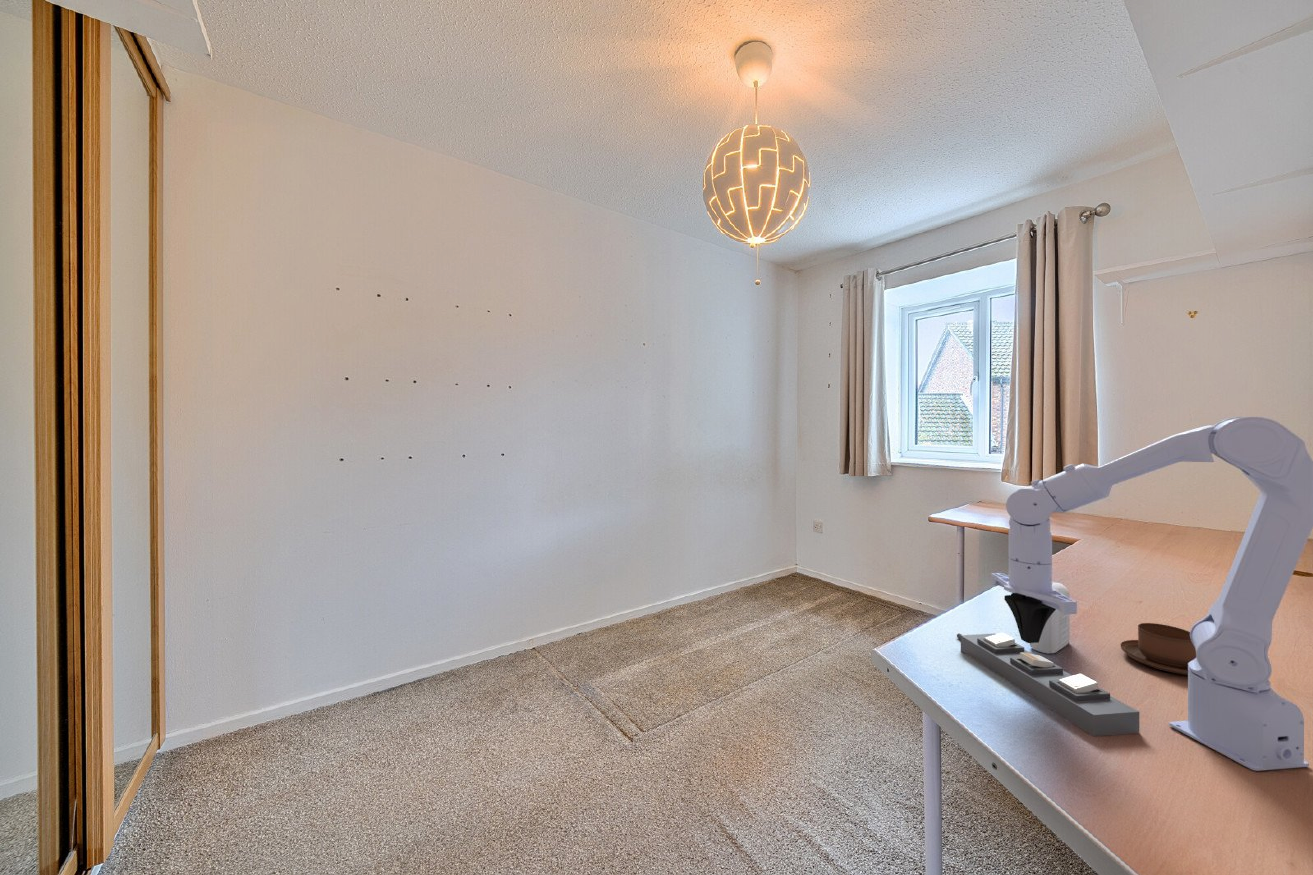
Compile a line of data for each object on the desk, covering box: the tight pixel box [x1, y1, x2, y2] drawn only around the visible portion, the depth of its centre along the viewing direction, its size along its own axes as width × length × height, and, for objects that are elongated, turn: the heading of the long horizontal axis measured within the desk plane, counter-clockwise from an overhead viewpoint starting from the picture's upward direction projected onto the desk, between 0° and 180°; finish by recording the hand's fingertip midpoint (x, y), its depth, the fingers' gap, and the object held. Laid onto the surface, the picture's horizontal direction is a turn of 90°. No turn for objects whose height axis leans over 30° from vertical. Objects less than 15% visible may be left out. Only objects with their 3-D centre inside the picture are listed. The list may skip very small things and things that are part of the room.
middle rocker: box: [1019, 652, 1055, 667], centre depth 80 cm, size 3×4×1 cm
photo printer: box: [1029, 581, 1071, 655], centre depth 94 cm, size 10×4×12 cm, turn 123°
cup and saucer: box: [1120, 622, 1196, 676], centre depth 86 cm, size 12×12×6 cm
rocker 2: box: [1059, 673, 1099, 693], centre depth 73 cm, size 3×4×1 cm
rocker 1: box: [985, 632, 1016, 647], centre depth 88 cm, size 3×4×1 cm
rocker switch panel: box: [956, 632, 1140, 737], centre depth 83 cm, size 32×7×4 cm, turn 5°
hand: (1030, 641), depth 80 cm, fingers closed
